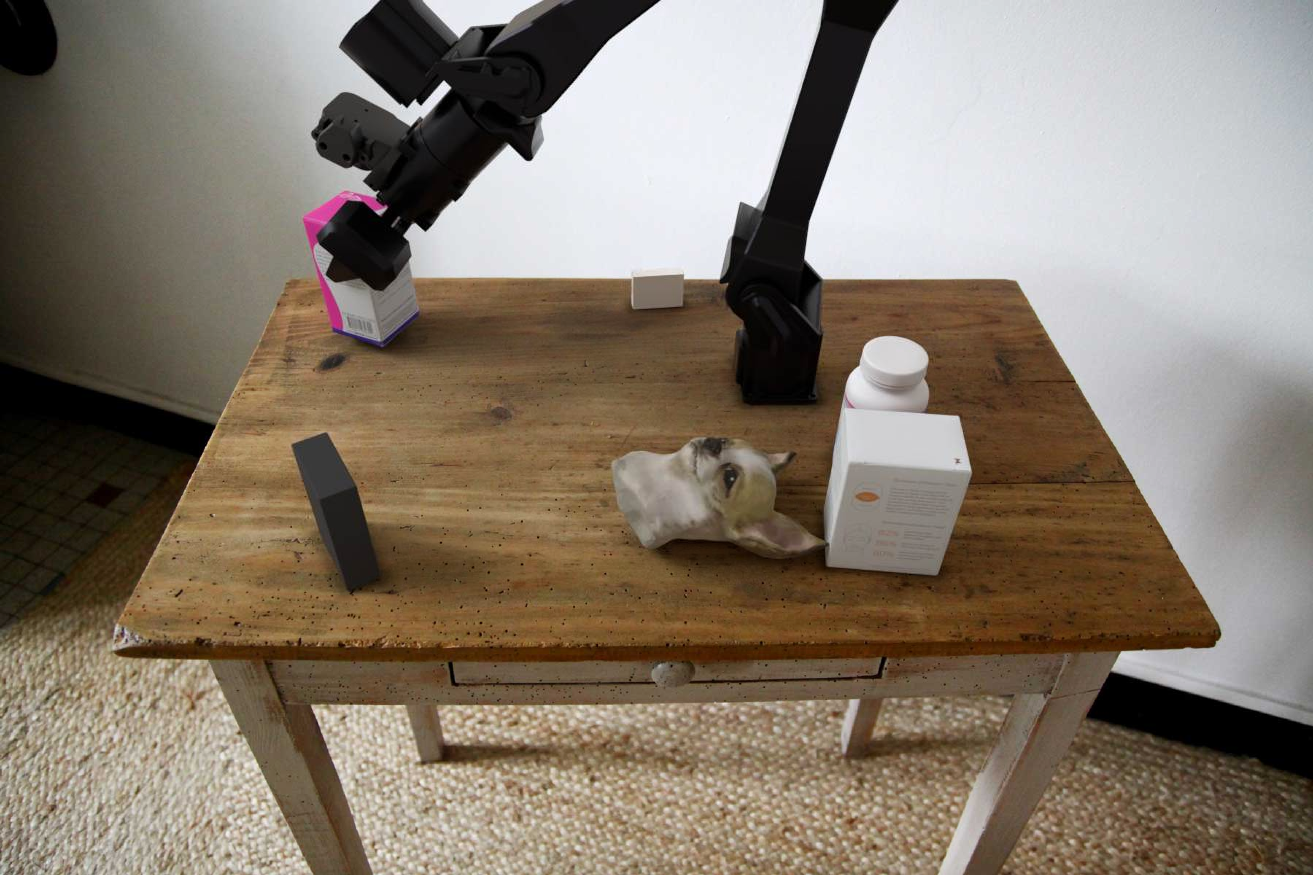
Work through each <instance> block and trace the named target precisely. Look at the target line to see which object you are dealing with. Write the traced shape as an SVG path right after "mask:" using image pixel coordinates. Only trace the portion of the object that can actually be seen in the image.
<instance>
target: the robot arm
mask: <svg viewBox="0 0 1313 875" xmlns="http://www.w3.org/2000/svg"><path fill="white" fill-rule="evenodd" d="M899 1H900V0H822V6H821V12H820V14H819V18H818V22H817V24H816V28H815V31H814V34H813V38H812V41H811V45H810V48H809V51H808V55H807V57H806V61H805V64H804V67H803V71H802V74H801V77H800V81H799V84H798V87H797V90H796V93H795V97H794V100H793V103H792V107H791V110H790V113H789V116H788V121H787V123H786V126H785V131H784V132H783V137H782V139H781V143H780V146H779V149H778V153H777V156H776V160H775V163H774V165H773V170H772V172H771V176H770V179H769V182H768V185H767V189H766V191H765V192H764V194H763V196H762V197H761V198H760V200H759V202H758V203H757V204H756V206H753V205H750V204H747V203H746V202H743V201H740V202H739V204H738V208H737V213H736V217H735V223H734V227H733V232H732V235H731V236H730V237H729V238H728V239H727V244H726V249H725V252H724V258H723V261H722V266H721V271H720V275H719V280H718V283H719V284H720V285H725V284H726V288H725V294H724V295H725V297H724V299H725V304H726V306H727V307H729V308H730V310H731V311H732V313H733V314H734V315H735V316H736V317H737V318H739V319H740V320H741V321H742V323H743V325H742V328H737V330H736V331H735V338H734V339H735V341H734V349H733V357H732V358H733V360H732V370H733V377H734V383H735V384H736V385H737V386H739V390H740V396H741V401H742V402H743V403H745V404H815V403H817V402H818V401H819V393H818V389H817V386H816V378H817V372H818V367H819V361H820V355H821V350H822V344H823V339H824V338H823V337H824V329H823V326H822V312H823V298H824V297H823V295H824V294H823V293H824V279H823V277H822V276H821V275H820V273H818V272H817V270H815V269H814V268H813V266H811V264H810V263H809V262H808V261H807V260H806V257H805V256H806V249H807V242H808V234H809V228H810V222H811V218H812V216H813V213H814V210H815V208H816V204H817V202H818V199H819V195H820V193H821V190H822V187H823V184H824V181H825V179H826V176H827V173H828V170H829V167H830V164H831V161H832V159H833V155H834V153H835V151H836V150H835V149H836V147H837V144H838V141H839V139H840V135H841V132H842V129H843V127H844V124H845V121H846V118H847V116H848V113H849V109H850V107H851V103H852V100H853V98H854V96H855V92H856V89H857V86H858V84H859V81H860V78H861V75H862V72H863V70H864V67H865V64H866V61H867V58H868V56H869V52H870V50H871V46H872V43H873V41H874V39H875V37H876V36H877V34H878V33H879V30H880V29H881V28H882V26H883V25H884V23H885V22H886V20H887V19H888V17H889V16H890V14H891V13H892V11H893V10H894V8H896V6H897V4H898V3H899ZM659 2H662V0H540V1H539V2H537V3H535V4H533V5H532V6H529V7H528V8H526V9H524V10H522V11H521V12H519V13H518V14H516V15H514V17H513V18H512V19H511V20H510V21H509V22H507V23H496V24H495V23H494V24H484V25H473V26H469V27H468V29H466V30H465V32H464V33H462V35H461V36H458V35H457V34H456V33H455V32H454V31H453V30H452V29H451V28H450V27H449V26H448V25H447V24H446V23H445V22H444V21H443V20H442V19H441V18H440V17H439V16H438V15H437V14H436V13H435V12H434V11H433V10H432V8H430V7H429V6H428V4H426V2H425V1H424V0H378V1H377V2H376V3H375V4H374V5H373V6H372V8H371V9H370V10H369V11H368V12H366V13H365V14H364V15H363V16H362V17H361V18H360V19H358V20H357V21H356V22H354V23H353V25H352V26H351V27H350V28H349V30H348V31H347V33H346V34H345V35H344V37H343V38H342V39H341V41H340V43H339V45H338V49H340V50H341V51H342V52H343V53H344V54H345V55H346V56H347V57H348V58H349V59H350V60H351V61H352V62H354V63H355V64H356V66H357V67H359V68H360V70H362V71H363V72H364V73H365V74H366V75H367V76H368V77H369V78H371V80H372V81H374V82H375V83H376V84H377V85H378V87H380V88H381V89H382V90H383V91H384V92H385V93H386V94H388V96H390V97H391V98H392V99H393V100H394V102H396V103H397V104H398V105H399V106H403V107H404V108H405V109H408V108H409V107H410V106H411V105H412V104H413V103H414V102H415V103H417V104H418V105H419V106H420V107H422V106H423V105H424V104H425V102H426V101H428V100H429V98H430V97H431V96H432V95H433V93H435V91H436V90H437V89H438V88H439V87H440V86H441V85H442V84H443V82H445V83H446V85H448V86H449V87H450V88H449V89H448V90H447V92H446V93H445V94H444V95H443V96H442V97H441V99H440V100H438V102H437V103H436V104H435V105H434V106H433V107H432V109H431V110H429V112H428V113H427V114H426V115H425V116H424V117H422V116H421V115H419V117H418V118H417V119H416V120H415V121H414V122H413V123H412V124H411V125H409V124H407V123H406V122H405V121H403V120H401V119H399V118H398V117H397V116H396V115H395V114H394V113H392V112H390V111H389V110H387V109H385V108H383V107H381V106H379V105H378V104H375V103H373V102H371V101H370V100H367V99H365V98H364V97H362V96H360V95H357V94H355V93H353V92H350V91H342V92H339V93H338V95H337V96H335V97H334V98H333V99H332V100H331V101H330V102H329V103H328V104H327V105H325V106H324V107H323V108H322V112H321V116H320V118H319V119H318V123H317V125H316V126H315V127H314V128H313V129H312V130H311V132H310V136H311V138H312V139H313V140H314V141H315V143H314V146H315V150H316V152H317V153H318V155H319V156H320V157H321V158H324V159H325V160H327V161H329V162H331V163H332V164H335V165H337V166H339V167H341V168H343V169H350V168H353V167H354V168H356V169H358V170H360V171H365V172H369V173H368V174H367V175H366V176H365V177H364V179H363V180H362V182H363V183H364V185H366V186H367V187H368V188H369V189H370V190H372V191H373V192H374V193H376V194H375V195H374V196H373V197H374V199H375V200H376V201H377V202H378V203H379V204H380V205H382V206H385V205H387V208H386V210H385V211H384V212H383V213H382V215H381V216H379V215H378V214H377V213H376V212H375V211H374V210H372V209H371V208H370V207H369V206H368V205H367V204H366V203H364V202H363V201H353V200H347V201H346V202H345V203H344V204H343V205H342V206H341V208H340V209H339V210H338V211H337V212H336V213H335V214H334V215H333V217H332V218H331V219H330V220H329V221H328V222H327V223H326V225H325V226H324V227H323V228H322V229H321V230H320V231H319V232H318V234H317V235H316V237H317V240H318V243H319V245H320V246H321V247H323V248H324V249H325V250H326V251H327V252H329V253H330V254H331V255H332V256H333V258H332V260H331V262H330V264H329V267H328V269H327V271H326V276H327V277H328V278H329V279H330V280H332V281H333V282H334V283H339V282H344V281H349V280H355V279H361V280H362V281H363V282H365V283H366V284H367V285H368V286H369V287H371V288H372V289H373V290H375V291H384V290H385V289H386V288H387V287H388V286H389V285H390V284H391V283H392V282H393V281H394V280H395V279H396V278H397V276H398V275H399V273H400V272H401V271H402V269H403V268H404V266H405V265H406V263H407V262H408V261H409V262H410V259H411V258H412V257H413V255H412V250H411V249H412V248H411V245H410V241H409V240H408V239H407V238H406V237H405V235H406V234H407V232H408V230H410V228H411V227H412V225H414V224H416V225H417V227H419V228H420V229H421V230H422V231H423V232H424V233H427V232H428V231H429V229H431V228H432V226H433V225H434V224H435V223H436V221H437V220H438V219H439V217H440V216H441V214H442V212H444V210H446V208H448V206H449V205H451V203H453V202H454V203H456V202H457V201H459V200H460V199H461V197H463V195H464V194H465V192H467V190H468V188H469V187H470V185H471V184H472V183H473V181H474V180H475V179H477V177H479V175H480V174H481V173H482V172H483V171H484V170H486V168H487V167H489V165H490V164H491V163H493V161H494V160H495V159H496V158H497V157H498V156H499V155H500V154H501V153H502V152H503V151H504V150H505V149H506V148H507V147H508V146H510V147H511V148H512V149H513V150H514V151H515V152H516V153H517V154H518V155H519V156H520V157H521V158H522V159H523V160H524V161H526V162H531V161H533V160H534V158H535V157H536V155H537V153H538V152H539V150H540V149H541V147H542V145H543V143H544V141H545V137H544V132H543V127H542V121H543V115H544V114H546V113H547V112H548V111H550V109H552V108H553V106H554V105H555V104H556V103H557V102H558V101H559V100H560V98H561V97H562V96H563V95H564V94H565V93H566V92H567V91H568V89H569V88H570V87H571V86H572V85H573V84H574V83H575V82H576V81H577V80H578V78H579V77H580V76H581V74H582V73H583V72H584V71H585V70H586V68H587V67H588V66H589V65H590V64H591V62H592V61H593V60H594V59H595V57H597V55H598V54H599V52H600V51H601V50H602V49H603V48H604V47H605V46H606V45H607V44H608V42H609V41H610V40H612V39H613V38H614V37H615V36H617V35H618V34H619V33H621V32H622V31H623V30H624V29H626V28H627V27H628V26H629V25H631V24H632V23H633V22H635V21H636V20H637V19H638V18H640V17H641V16H643V15H644V14H645V13H647V12H648V11H649V10H650V9H652V8H653V7H654V6H655V5H657V4H658V3H659ZM398 216H399V217H400V219H399V220H398V222H397V223H396V224H395V226H394V227H392V226H391V225H392V224H393V223H394V222H395V220H396V219H397V218H398ZM403 236H404V237H403Z"/></svg>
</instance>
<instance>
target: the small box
mask: <svg viewBox="0 0 1313 875" xmlns="http://www.w3.org/2000/svg"><path fill="white" fill-rule="evenodd" d="M972 475H973V471H972V467H971V462H970V458H969V453H968V449H967V443H966V441H965V436H964V431H963V427H962V422H961V419H960V416H959V415H950V414H935V413H933V414H932V413H925V414H923V413H908V412H895V411H880V410H867V409H853V408H845V409H844V411H843V415H842V420H841V425H840V430H839V435H838V440H837V445H836V450H835V454H834V459H833V458H832V466H831V470H830V476H829V481H828V485H827V490H826V496H825V500H824V501H825V503H824V506H823V535H824V537H823V538H824V541H826V542H828V543H829V545H828V546H827V547H825V548H824V556H825V566H826V567H828V568H840V569H851V570H852V569H854V570H864V571H865V570H866V571H875V572H876V571H877V572H886V573H887V572H889V573H900V574H914V575H926V576H938V575H939V572H940V569H941V566H942V563H943V560H944V557H945V554H946V552H947V549H948V546H949V542H950V539H951V536H952V533H953V530H954V527H955V524H956V521H957V519H958V515H959V513H960V510H961V507H962V504H963V501H964V499H965V495H966V492H967V490H968V487H969V484H970V481H971V477H972Z"/></svg>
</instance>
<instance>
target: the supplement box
mask: <svg viewBox="0 0 1313 875" xmlns="http://www.w3.org/2000/svg"><path fill="white" fill-rule="evenodd" d="M347 200H353V201H363V202H364V203H366V204H367V205H368V206H369V207H370V208H371V209H372V210H374V211H375V212H376V213H377V214H378V215H379V216H381V215H382V213H383V212H384V211H385V210H386V208H387V205H385V206H382V205H380V204H379V203H378V202H377V201H376V200H375V199H374V196H370V195H367V194H362V193H358V192H353V191H350V190H343V191H342V192H340V193H339V194H337V195H335V196H334V197H332V198H331V199H329V200H328V201H327V202H325V203H324V204H321V205H320V206H318V207H316V208H315V209H313V210H312V211H310V212H308V213H306V214H305V215H303V216H302V218H301V219H302V221H303V225H304V229H305V233H306V237H307V240H308V244H309V247H310V251H311V255H312V258H313V262H314V266H315V267H314V268H315V270H316V274H317V277H318V282H319V286H320V288H321V292H322V296H323V300H324V303H325V307H326V310H327V315H328V318H329V322H330V325H331V330H332V332H333V333H335V334H338V335H342V336H345V337H349V338H352V339H354V340H358V341H362V342H365V343H368V344H372V345H375V346H378V347H380V348H383V347H385V346H387V345H388V344H389V343H390V342H391V341H392V340H393V339H395V337H396V336H398V334H400V333H401V332H403V330H405V329H406V328H407V326H409V325H410V324H412V323H413V322H414V321H415V320H416V319H417V318H418V317H419V316H420V310H419V304H418V299H417V294H416V290H415V284H414V279H413V274H412V268H411V264H410V260H409V261H408V262H407V263H406V265H405V266H404V268H403V269H402V271H401V272H400V273H399V275H398V276H397V278H396V279H395V280H394V281H393V282H392V283H391V284H390V285H389V286H388V287H387V288H386V289H385V290H384V291H375V290H373V289H372V288H371V287H369V286H368V285H367V284H366V283H365V282H363V281H362V280H361V279H355V280H349V281H344V282H339V283H334V282H333V281H332V280H330V279H329V278H328V277H327V276H326V271H327V269H328V267H329V264H330V262H331V260H332V258H333V256H332V255H331V254H330V253H329V252H327V251H326V250H325V249H324V248H323V247H321V246H320V245H319V243H318V240H317V237H316V235H317V234H318V232H319V231H320V230H321V229H322V228H323V227H324V226H325V225H326V223H327V222H328V221H329V220H330V219H331V218H332V217H333V215H334V214H335V213H336V212H337V211H338V210H339V209H340V208H341V206H342V205H343V204H344V203H345V202H346V201H347ZM399 219H400V217H399V216H398V218H397V219H396V220H395V222H394V223H393V224H392V225H391V226H392V227H394V226H395V224H396V223H397V222H398V220H399ZM403 237H404V238H405V235H404V236H403Z"/></svg>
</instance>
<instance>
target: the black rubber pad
mask: <svg viewBox="0 0 1313 875" xmlns="http://www.w3.org/2000/svg"><path fill="white" fill-rule="evenodd" d="M290 446H291V450H292V452H293V455H294V458H295V461H296V465H297V467H298V471H299V474H300V477H301V480H302V483H303V486H304V489H305V492H306V495H307V498H308V501H309V505H310V507H311V510H312V514H313V517H314V519H315V522H316V525H317V528H318V532H319V535H320V538H321V540H322V541H323V544H324V545H325V547H326V550H327V551H328V553H329V556H330V558H331V560H332V562H333V564H334V567H335V568H336V570H337V572H338V574H339V577H340V578H341V581H342V582H343V584H344V587H345V589H346V590H347V592H350V591H352V590H355V589H357V588H360V587H362V586H364V585H366V584H370V583H371V582H374V581H376V580H379V579H381V578H382V574H381V570H380V566H379V563H378V558H377V555H376V552H375V548H374V545H373V540H372V536H371V533H370V529H369V525H368V522H367V519H366V515H365V512H364V508H363V503H362V501H361V497H360V492H359V490H358V485H357V484H356V481H355V480H354V478H353V477H352V475H351V472H350V471H349V469H348V468H347V466H346V464H345V462H344V461H343V459H342V456H341V454H340V453H339V451H338V450H337V447H336V445H335V444H334V442H333V440H332V439H331V437H330V434H329V433H328V432H327V431H325V432H322V433H319V434H316V435H314V436H310V437H308V438H305V439H302V440H299V441H296V442H293V443H291V444H290Z"/></svg>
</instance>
